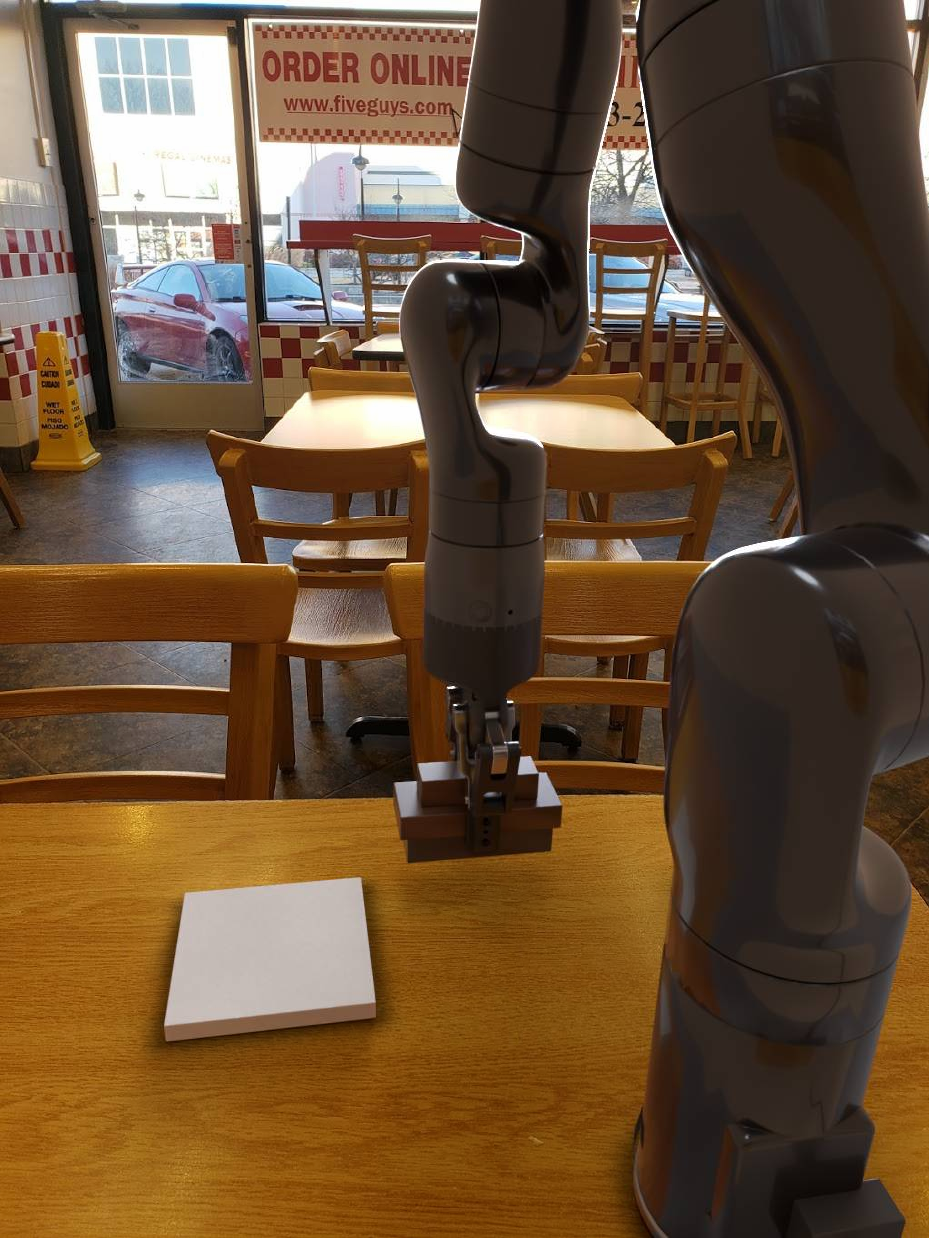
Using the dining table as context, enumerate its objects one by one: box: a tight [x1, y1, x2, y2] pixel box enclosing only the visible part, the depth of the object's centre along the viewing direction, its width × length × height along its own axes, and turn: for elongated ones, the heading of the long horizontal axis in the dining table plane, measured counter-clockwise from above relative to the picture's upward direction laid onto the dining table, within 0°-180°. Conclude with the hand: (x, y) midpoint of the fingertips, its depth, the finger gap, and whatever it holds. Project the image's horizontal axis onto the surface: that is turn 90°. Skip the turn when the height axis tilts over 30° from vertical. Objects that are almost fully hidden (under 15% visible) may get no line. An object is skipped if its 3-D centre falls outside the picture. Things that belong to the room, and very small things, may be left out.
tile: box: [163, 877, 377, 1042], centre depth 60 cm, size 12×12×1 cm
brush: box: [392, 755, 564, 864], centre depth 65 cm, size 11×4×6 cm, turn 100°
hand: (474, 828), depth 65 cm, fingers closed on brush, 4 cm apart
